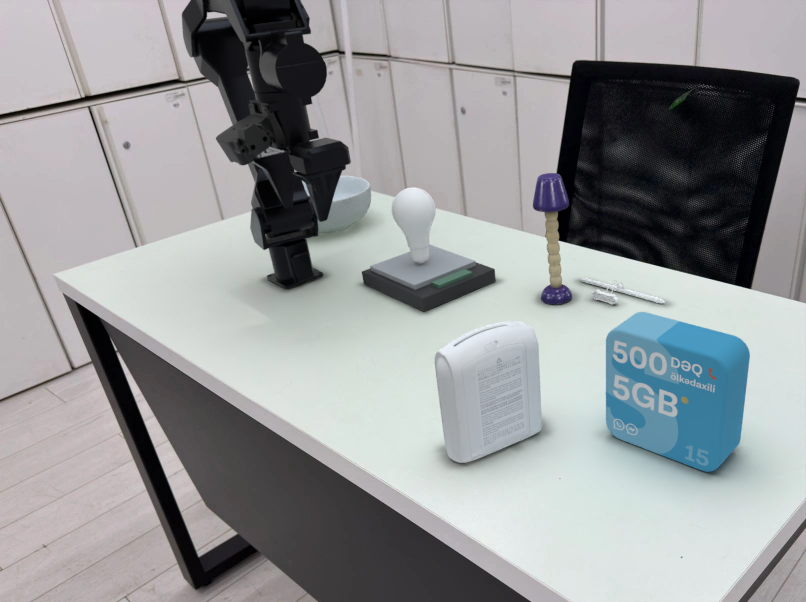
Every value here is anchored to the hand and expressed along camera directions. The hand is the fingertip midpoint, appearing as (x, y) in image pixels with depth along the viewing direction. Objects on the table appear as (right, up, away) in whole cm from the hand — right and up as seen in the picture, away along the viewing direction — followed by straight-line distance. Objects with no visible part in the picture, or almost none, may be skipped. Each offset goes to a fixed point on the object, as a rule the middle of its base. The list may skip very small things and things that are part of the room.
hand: (305, 214), depth 98 cm
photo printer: (+26, -28, -25) cm, 45 cm away
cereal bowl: (-6, +6, +36) cm, 37 cm away
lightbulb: (+14, -5, +10) cm, 18 cm away
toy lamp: (+33, -11, +3) cm, 35 cm away
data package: (+43, -28, -27) cm, 58 cm away
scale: (+15, -8, +11) cm, 20 cm away
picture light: (+41, -11, +2) cm, 42 cm away
